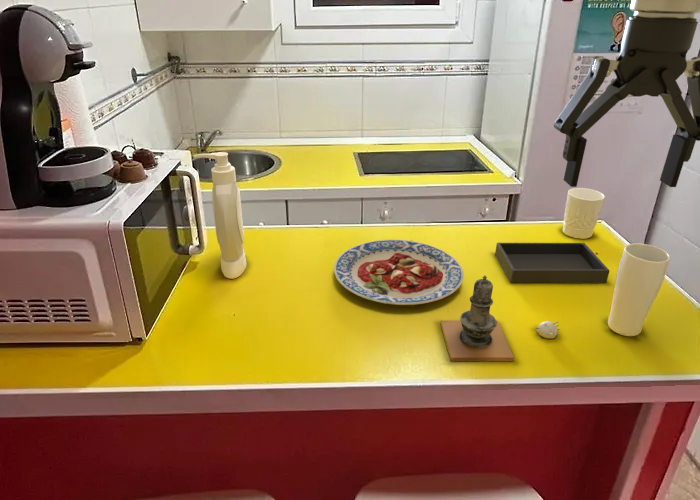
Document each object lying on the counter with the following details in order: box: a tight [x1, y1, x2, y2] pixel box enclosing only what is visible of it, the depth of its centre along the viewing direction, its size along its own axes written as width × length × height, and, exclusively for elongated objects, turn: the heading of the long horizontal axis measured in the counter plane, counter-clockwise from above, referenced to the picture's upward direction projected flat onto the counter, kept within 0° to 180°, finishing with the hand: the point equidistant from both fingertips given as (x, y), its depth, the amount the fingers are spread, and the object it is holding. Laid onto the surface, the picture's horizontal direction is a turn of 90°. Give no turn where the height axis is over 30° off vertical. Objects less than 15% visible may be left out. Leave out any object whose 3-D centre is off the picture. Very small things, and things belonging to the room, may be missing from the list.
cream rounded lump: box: [535, 320, 561, 339], centre depth 88 cm, size 3×4×3 cm
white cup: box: [561, 187, 606, 240], centre depth 122 cm, size 8×8×10 cm
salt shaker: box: [459, 275, 498, 348], centre depth 83 cm, size 6×6×12 cm
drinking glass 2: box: [607, 242, 671, 337], centre depth 87 cm, size 7×7×15 cm
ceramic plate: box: [333, 239, 465, 306], centre depth 104 cm, size 26×26×3 cm
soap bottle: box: [193, 151, 248, 280], centre depth 102 cm, size 13×8×24 cm, turn 7°
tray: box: [494, 242, 611, 284], centre depth 108 cm, size 19×12×3 cm, turn 91°
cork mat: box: [440, 320, 515, 362], centre depth 86 cm, size 10×10×1 cm
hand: (618, 183), depth 72 cm, fingers open, 13 cm apart
